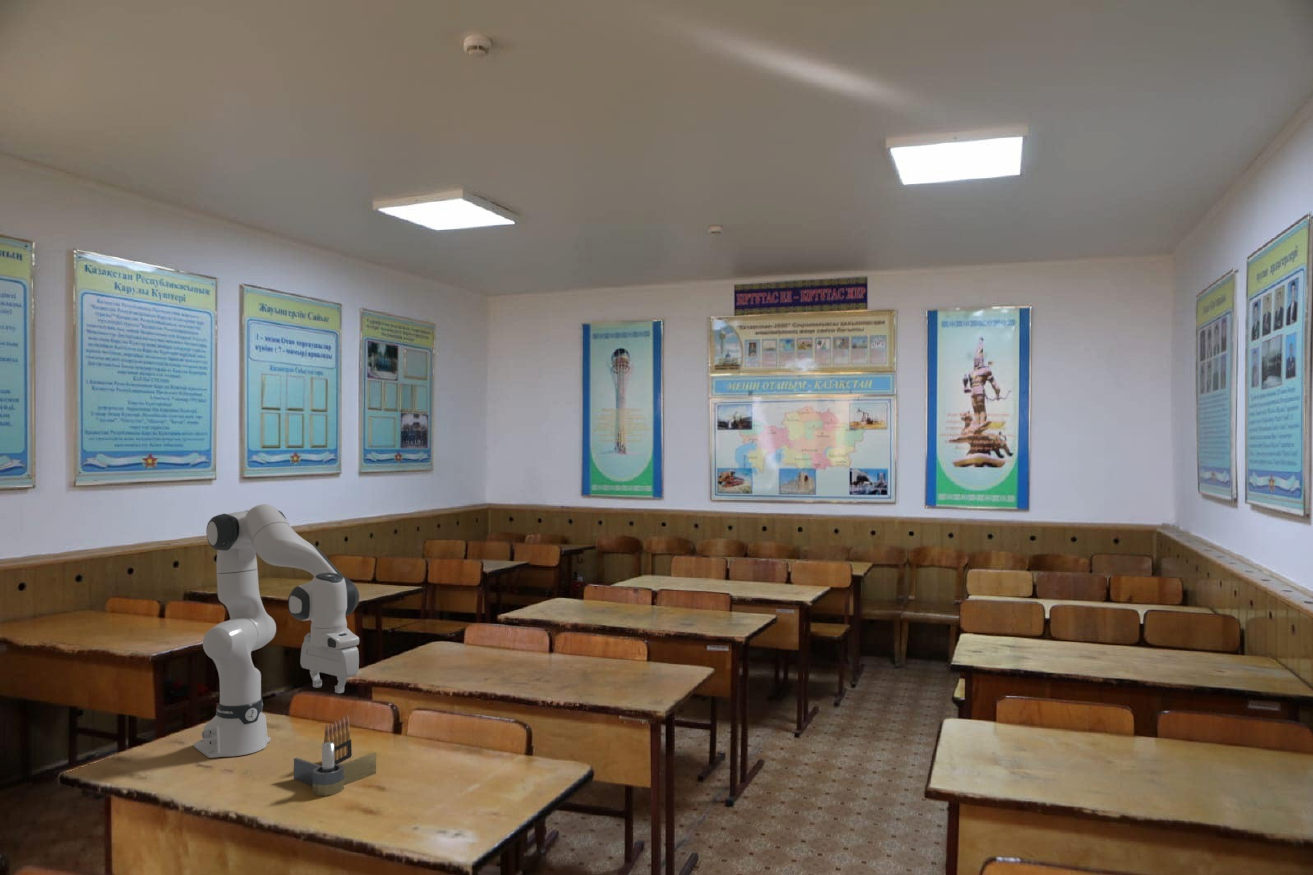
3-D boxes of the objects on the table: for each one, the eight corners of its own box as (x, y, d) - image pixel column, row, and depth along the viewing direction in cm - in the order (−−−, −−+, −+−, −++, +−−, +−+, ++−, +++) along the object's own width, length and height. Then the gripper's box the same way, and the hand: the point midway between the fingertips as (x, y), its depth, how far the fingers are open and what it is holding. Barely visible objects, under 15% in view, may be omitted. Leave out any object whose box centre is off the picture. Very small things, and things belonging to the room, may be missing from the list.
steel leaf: (282, 782, 228) (282, 762, 228) (307, 774, 234) (307, 754, 234) (324, 797, 217) (324, 776, 218) (349, 788, 224) (349, 767, 224)
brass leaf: (306, 791, 222) (307, 770, 222) (366, 770, 237) (366, 750, 237) (324, 797, 217) (324, 776, 218) (383, 775, 233) (383, 755, 233)
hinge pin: (319, 790, 222) (319, 744, 223) (329, 787, 225) (329, 740, 225) (326, 793, 221) (326, 746, 221) (336, 789, 223) (336, 743, 223)
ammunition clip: (327, 769, 238) (327, 725, 238) (321, 768, 238) (321, 725, 239) (351, 756, 248) (352, 714, 248) (346, 755, 249) (346, 714, 249)
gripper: (294, 633, 227) (293, 686, 226) (342, 643, 215) (341, 698, 215) (315, 629, 232) (315, 681, 232) (363, 638, 220) (363, 693, 220)
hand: (328, 689), depth 223 cm, fingers open, 8 cm apart
